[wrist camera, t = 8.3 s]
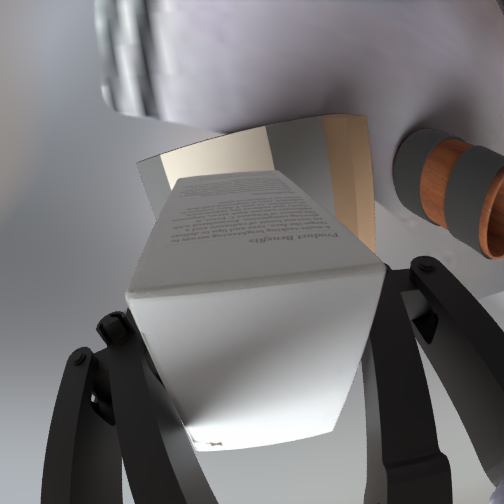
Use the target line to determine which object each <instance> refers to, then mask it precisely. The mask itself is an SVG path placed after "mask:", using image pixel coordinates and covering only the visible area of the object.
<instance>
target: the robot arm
mask: <svg viewBox="0 0 504 504" xmlns="http://www.w3.org/2000/svg"><path fill="white" fill-rule="evenodd" d="M496 1H497V3H498V5H499V7H500V9H501V11H502V13H503V15H504V0H496ZM384 264H385V263H384ZM385 266H386V267H387V269H386V275H385V278H384V282H383V286H382V290H381V294H380V298H379V301H378V305H377V309H376V313H375V316H374V320H373V323H372V327H371V330H370V334H369V337H368V340H367V343H366V346H365V349H364V352H363V355H362V358H361V362H362V372H363V383H364V394H365V409H366V410H365V411H366V430H367V431H366V432H367V483H366V489H365V494H364V504H453V500H452V480H451V469H450V464H449V460H448V458H447V456H446V455H444V454H443V453H442V452H441V451H440V449H439V446H438V440H437V433H436V426H435V421H434V415H433V409H432V404H431V399H430V395H429V389H428V385H427V381H426V377H425V373H424V368H423V364H422V361H421V357H420V353H419V350H418V346H417V342H416V339H417V341H418V343H419V344H420V346H421V347H422V349H423V351H424V352H425V354H426V356H427V357H428V359H429V361H430V363H431V364H432V366H433V368H434V370H435V371H436V373H437V375H438V376H439V378H440V380H441V382H442V384H443V386H444V387H445V389H446V391H447V393H448V395H449V397H450V399H451V401H452V402H453V405H454V406H455V408H456V410H457V412H458V414H459V416H460V418H461V420H462V423H463V425H464V427H465V429H466V431H467V433H468V435H469V437H470V439H471V442H472V444H473V446H474V449H475V451H476V453H477V456H478V458H479V460H480V463H481V465H482V467H483V469H484V471H485V473H486V475H487V476H488V478H489V479H490V481H491V482H492V483H493V484H494V486H495V487H496V490H495V491H494V492H493V494H492V495H491V497H490V504H504V332H503V331H502V329H501V328H500V327H499V326H498V325H497V323H496V322H495V321H494V319H493V318H492V317H491V316H490V315H489V313H488V312H487V311H486V310H485V309H484V308H483V307H482V306H481V304H480V303H479V302H478V301H477V300H476V299H475V298H474V296H473V295H472V294H471V293H470V292H469V291H468V290H467V289H466V288H465V287H464V286H463V285H462V284H461V282H460V281H459V280H458V279H457V278H456V277H455V276H454V275H453V274H452V273H451V272H450V271H449V270H448V269H447V268H446V267H445V266H444V265H443V264H442V263H441V262H440V261H438V260H437V259H435V258H433V257H430V256H419V257H416V258H414V259H413V260H412V261H411V266H410V269H402V270H392V269H391V268H390V267H389V266H388V265H387V264H385ZM96 330H97V332H98V333H99V334H100V336H101V337H102V339H103V340H104V341H105V343H106V344H107V348H105V349H103V350H101V351H98V352H96V353H93V352H92V351H91V349H90V348H88V347H81V348H79V349H77V350H75V351H74V352H73V353H72V354H71V355H70V356H69V358H68V361H67V363H66V367H65V370H64V373H63V377H62V380H61V384H60V388H59V391H58V395H57V399H56V403H55V407H54V411H53V416H52V420H51V425H50V430H49V436H48V442H47V447H46V454H45V461H44V469H43V478H42V489H41V504H123V497H122V458H123V463H124V467H125V470H126V475H127V478H128V482H129V486H130V489H131V492H132V496H133V499H134V502H135V504H218V502H217V500H216V498H215V496H214V494H213V492H212V490H211V488H210V486H209V484H208V482H207V480H206V478H205V476H204V474H203V471H202V469H201V467H200V465H199V463H198V460H197V458H196V456H195V454H194V451H193V449H192V446H191V444H190V442H189V439H188V437H187V435H186V432H185V429H184V427H183V424H182V422H181V419H180V416H179V414H178V413H177V411H176V409H175V407H174V405H173V403H172V401H171V399H170V397H169V395H168V393H167V390H166V388H165V386H164V384H163V382H162V380H161V378H160V376H159V373H158V371H157V369H156V367H155V365H154V362H153V360H152V358H151V355H150V353H149V351H148V349H147V346H146V344H145V342H144V340H143V337H142V335H141V333H140V331H139V329H138V327H137V324H136V322H135V320H134V317H133V315H132V313H131V311H130V308H129V306H128V308H127V312H126V315H125V314H124V313H123V312H121V311H118V312H117V311H116V312H112V313H110V314H108V315H106V316H105V317H104V318H103V319H101V320H100V322H99V323H98V325H97V328H96ZM415 338H416V339H415ZM92 394H93V395H94V396H95V400H94V402H92V401H91V396H92Z"/></svg>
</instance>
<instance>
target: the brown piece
mask: <svg viewBox="0 0 504 504" xmlns="http://www.w3.org/2000/svg"><path fill="white" fill-rule="evenodd" d="M136 165H137V167H138V170H139V173H140V176H141V179H142V182H143V185H144V188H145V191H146V193H147V196H148V199H149V201H150V204H151V207H152V210H153V213H154V215H155V218H156V220H157V219H158V217H159V215H160V213H161V211H162V208H163V206H164V204H165V202H166V201H167V199H168V197H169V195H170V193H171V191H172V189H173V187H174V185H175V183H176V181H177V179H179V178H185V177H192V176H201V175H211V174H222V173H233V172H247V171H267V170H278V171H280V172H281V173H282V174H284V175H285V176H286V177H287V178H289V179H290V180H291V181H292V182H294V183H295V184H296V185H297V186H299V187H300V188H301V189H302V190H303V191H305V192H306V193H307V194H308V195H309V196H311V197H312V198H313V199H314V200H315V201H317V202H318V203H319V204H320V205H321V206H322V207H324V208H325V209H326V210H327V211H328V212H329V213H330V214H332V215H333V216H334V217H335V218H336V219H337V220H338V221H339V222H340V223H342V224H343V225H344V226H345V227H346V228H347V229H348V230H349V231H351V232H352V233H353V234H354V235H355V236H356V237H357V238H358V239H359V240H361V241H362V242H363V243H364V244H365V245H366V246H367V247H368V248H369V249H370V250H371V251H372V252H373V253H374V254H375V203H374V185H373V172H372V160H371V151H370V142H369V134H368V126H367V119H366V116H360V115H349V114H337V113H334V114H327V115H320V116H313V117H307V118H301V119H295V120H289V121H284V122H279V123H274V124H269V125H264V126H259V127H255V128H250V129H246V130H242V131H238V132H234V133H230V134H226V135H222V136H218V137H215V138H211V139H207V140H204V141H200V142H197V143H194V144H190V145H187V146H184V147H181V148H177V149H174V150H171V151H168V152H165V153H162V154H159V155H156V156H153V157H151V158H148V159H145V160H142V161H140V162H138V163H136Z"/></svg>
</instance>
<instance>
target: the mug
mask: <svg viewBox="0 0 504 504" xmlns="http://www.w3.org/2000/svg"><path fill="white" fill-rule="evenodd" d="M393 181H394V185H395V190H396V193H397V196H398V198H399V200H400V201H401V203H402V204H403V205H404V206H405V207H406V208H407V209H408V210H410V211H411V212H413V213H415V214H416V215H418V216H419V217H421V218H423V219H425V220H427V221H429V222H430V223H432V224H434V225H437V226H442V227H444V228H445V229H447V230H448V231H449V232H450V233H451V234H452V235H453V236H454V237H455V238H457V239H458V240H460V241H462V242H463V243H465V244H467V245H468V246H470V247H472V248H473V249H474V250H476V251H477V252H479V253H480V254H481V255H483V256H484V257H485V258H487V259H500V258H502V257H504V156H502V155H500V154H498V153H496V152H494V151H492V150H490V149H487V148H485V147H482V146H473V145H471V144H468V143H466V142H465V141H463V140H462V139H460V138H458V137H455V136H453V135H450V134H447V133H444V132H441V131H437V130H433V129H421V130H418V131H416V132H414V133H412V134H411V135H410V136H409V137H408V138H407V139H406V140H405V141H404V142H403V143H402V144H401V146H400V147H399V149H398V151H397V153H396V156H395V160H394V164H393Z"/></svg>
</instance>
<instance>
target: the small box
mask: <svg viewBox="0 0 504 504" xmlns="http://www.w3.org/2000/svg"><path fill="white" fill-rule="evenodd" d="M386 269H387V267H386V266H385V264H384V263H383V262H382V261H381V260H380V259H379V258H378V257H377V256H376V255H375V254H374V253H373V252H372V251H371V250H370V249H369V248H368V247H367V246H366V245H365V244H364V243H363V242H362V241H361V240H359V239H358V238H357V237H356V236H355V235H354V234H353V233H352V232H351V231H349V230H348V229H347V228H346V227H345V226H344V225H343V224H342V223H340V222H339V221H338V220H337V219H336V218H335V217H334V216H333V215H332V214H330V213H329V212H328V211H327V210H326V209H325V208H324V207H322V206H321V205H320V204H319V203H318V202H317V201H315V200H314V199H313V198H312V197H311V196H309V195H308V194H307V193H306V192H305V191H303V190H302V189H301V188H300V187H299V186H297V185H296V184H295V183H294V182H292V181H291V180H290V179H289V178H287V177H286V176H285V175H284V174H282V173H281V172H280V171H278V170H267V171H247V172H233V173H222V174H211V175H201V176H192V177H185V178H179V179H177V181H176V183H175V185H174V187H173V189H172V191H171V193H170V195H169V197H168V199H167V201H166V202H165V204H164V206H163V208H162V211H161V213H160V215H159V217H158V219H157V221H156V223H155V225H154V227H153V229H152V232H151V234H150V236H149V238H148V240H147V243H146V245H145V247H144V249H143V252H142V254H141V257H140V259H139V261H138V264H137V266H136V268H135V271H134V273H133V276H132V278H131V280H130V283H129V285H128V288H127V290H126V294H125V297H126V301H127V304H128V306H129V308H130V311H131V313H132V315H133V317H134V320H135V322H136V324H137V327H138V329H139V331H140V333H141V335H142V337H143V340H144V342H145V344H146V346H147V349H148V351H149V353H150V355H151V358H152V360H153V362H154V365H155V367H156V369H157V371H158V373H159V376H160V378H161V380H162V382H163V384H164V386H165V388H166V390H167V393H168V395H169V397H170V399H171V401H172V403H173V405H174V407H175V409H176V411H177V413H178V414H179V416H180V418H181V420H182V422H183V424H184V426H185V428H186V430H187V432H188V434H189V436H190V438H191V441H192V443H193V445H194V448H195V449H196V450H197V451H217V450H231V449H241V448H249V447H257V446H265V445H270V444H277V443H282V442H288V441H293V440H298V439H303V438H307V437H312V436H316V435H320V434H323V433H327V432H330V431H333V430H334V427H335V425H336V423H337V420H338V418H339V415H340V413H341V411H342V409H343V406H344V404H345V401H346V399H347V396H348V394H349V391H350V388H351V386H352V383H353V380H354V378H355V375H356V373H357V370H358V367H359V364H360V361H361V358H362V355H363V352H364V349H365V346H366V343H367V340H368V337H369V334H370V330H371V327H372V323H373V320H374V316H375V313H376V309H377V305H378V301H379V298H380V294H381V290H382V286H383V282H384V278H385V275H386Z"/></svg>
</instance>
